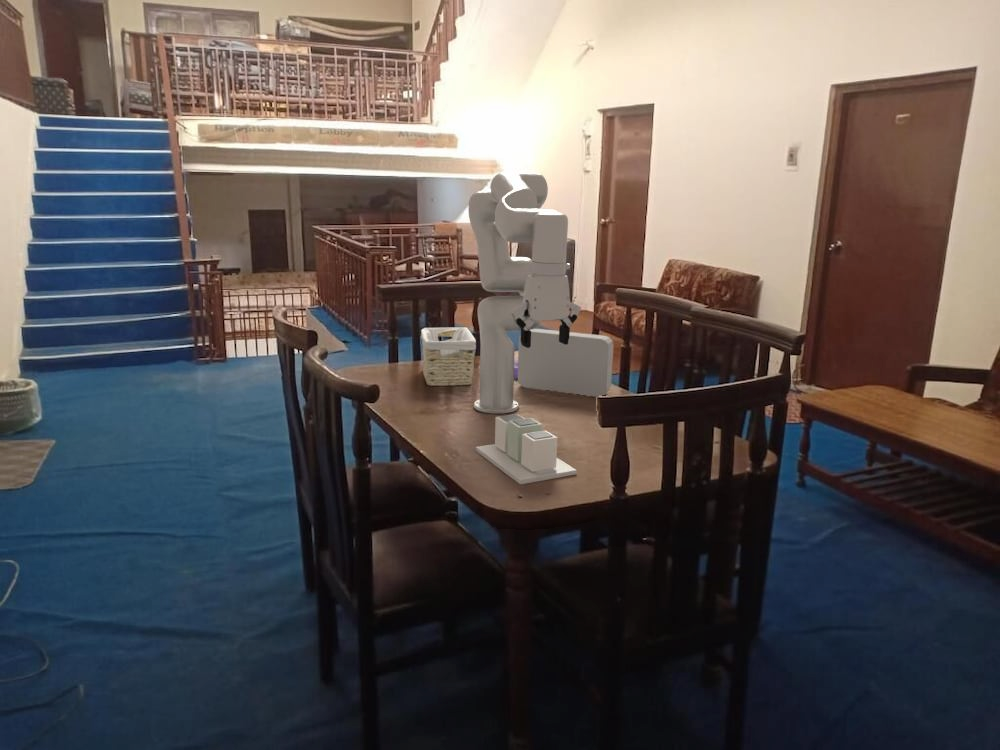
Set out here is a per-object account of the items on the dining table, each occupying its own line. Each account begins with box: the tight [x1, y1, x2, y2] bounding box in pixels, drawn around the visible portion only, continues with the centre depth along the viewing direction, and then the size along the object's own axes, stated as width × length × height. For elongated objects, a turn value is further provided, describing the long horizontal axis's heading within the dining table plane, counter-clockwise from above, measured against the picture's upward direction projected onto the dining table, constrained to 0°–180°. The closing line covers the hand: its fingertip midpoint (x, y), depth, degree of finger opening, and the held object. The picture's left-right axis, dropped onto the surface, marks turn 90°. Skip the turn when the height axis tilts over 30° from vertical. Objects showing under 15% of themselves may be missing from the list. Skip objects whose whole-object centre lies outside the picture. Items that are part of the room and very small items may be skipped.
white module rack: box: [475, 413, 577, 485], centre depth 166 cm, size 22×14×9 cm, turn 27°
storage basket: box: [420, 326, 477, 387], centre depth 237 cm, size 24×16×15 cm
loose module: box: [507, 417, 543, 461], centre depth 166 cm, size 5×6×8 cm
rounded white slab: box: [517, 328, 615, 398], centre depth 226 cm, size 29×8×18 cm, turn 67°
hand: (544, 344), depth 167 cm, fingers open, 9 cm apart
